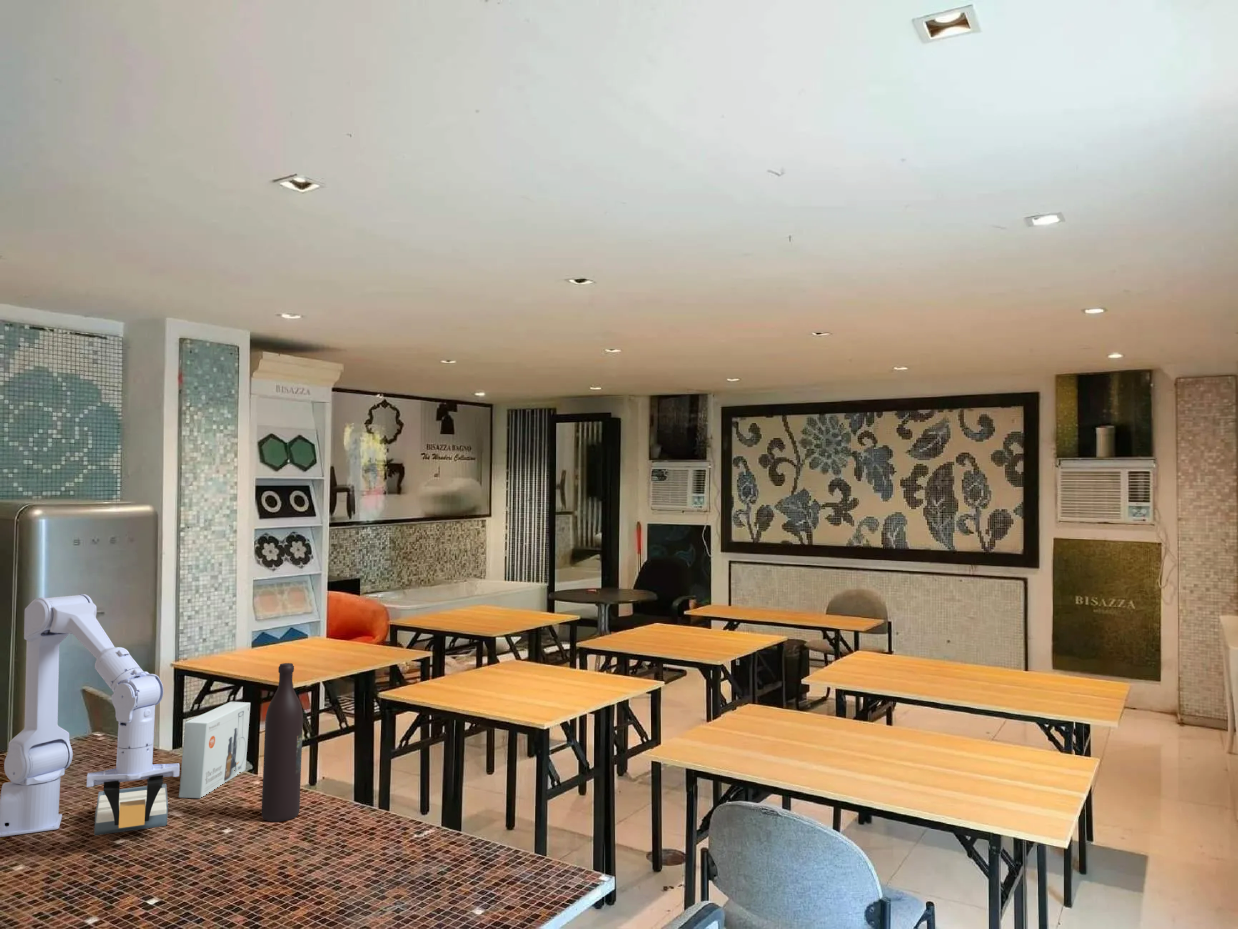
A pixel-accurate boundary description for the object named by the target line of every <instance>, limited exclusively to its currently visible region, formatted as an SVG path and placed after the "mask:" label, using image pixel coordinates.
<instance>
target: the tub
mask: <svg viewBox="0 0 1238 929" xmlns="http://www.w3.org/2000/svg"><path fill="white" fill-rule="evenodd" d="M161 788H165V792H166V807H167V813H166V814H161V815H153V816H149V821H145V823H144V825H139V826H131V827H124V828H119V825H115V824H114V821H109V822H102V823H96V818H97V811H98V805H99V798H100V796H101V795H105V793H104V790H103V791H102V790H101V791H98V795H97V801H96V806H95V807H96V808H95V813H94V829H93V830H94V834H93V835H94V837H95V836H101V835H109V834H115V833H116V834H117V833H123V832H130V831H137V830H144V829H152V828H159V827H165V826H166V825H167V826H168V812H169V811H168V810H169V801H168V800H169V799H168V790H167V788H168V787H167V783H163V784H162V786H161ZM142 790H147V785H145V786H144V785H143V786H136V787H135V786H134V787H128V788H121V789H120V792H119V793H125V792H133V791H142Z"/></svg>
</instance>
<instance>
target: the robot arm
mask: <svg viewBox="0 0 1238 929" xmlns="http://www.w3.org/2000/svg"><path fill="white" fill-rule="evenodd" d="M97 608H98V607H97V605H96V603H94V602H93V599H92V598H91V597H90V596H89V595H88V594H84V593H79V594H76V595H67V596H66V595H64V596H55V597H54V596H53V597H37V598H35V599H33V600H32V601H31V602H30V603H29V604H28V605H27V606H25V608H24V619H23V620H24V622H23V623H24V625H23V626H24V627H23V633H24V634H23V639H24V640H26V650H25V651H26V654H25V656H26V657H25V658H26V659H25V694H24V696H25V697H24V698H25V700H24V727H23V729H22V730H21V731H20V732H19V733H18V734H17V735H15V736H14V737H12V739H10V740H9V742H8V750H7V754H6V757H5V759H4V762H3V763H4V765H3V768H4V773H5V776H6V777H7V778H8V780H9V781H8V782H3V784H2V786H1V791H0V838H1V837H9V836H15V835H16V836H17V835H24V834H31V833H39V832H47V831H53V830H54V831H55V830H58V829H59V828H60V827H61V826H60V825H61V822H62V818H63V814H62V813H59V812H60V795H61V794H60V792H61V791H60V790H61V777H63V776H64V775H65V772H66V771H65V770H67V769H68V768H69V767H70V765H71V764H72V761H73V757H74V755H73V754H74V753H73V748H72V746H71V741H70V732H69V731H67V730H66V729H64V728H63V727H61V726H60V725H58V724H59V720H58V719H59V716H58V715H59V680H60V679H59V677H60V674H59V673H60V672H59V671H60V644H61V643H62V642H63V641H64V640H65V639H66V638H67V637H68V636H69V635H73V636H74V637H75V638H76V639H77V640H78V641H79V642H80V643H81V644H82V646H84V648H85V649H86V650H87V651H89V653H91V655H93V657H94V658H95V659H96V660H95V661H94V662H95V663H94V670H96V671H97V673H98V674H99V676H100V677H101V678H102V679H103V681H104V682H105V684H106V685H107V686H108V687H109V689H110V690H111V692H113V694H111V703H112V705H113V707H114V711H115V716H114V717H115V718H116V722H118V724H117V725H118V728H117V743H116V745H117V746H116V747H117V749H116V763H115V764H116V765H115V766H116V767H115V768H111V769H106V770H101V771H95V772H93V771H92V772H88V773H87V774H86V788H90V787H95V786H98V785H103V791H104V793H105V795H106V797H107V799H108V801H109V803H110V806H111V808H112V812H113V816H114V824H115V825H119V792H120V788H121V783H125V782H133V781H143V780H147V781H146V786H147V799H146V806H145V821H149V816H150V812H151V809H152V806H153V803H154V800H155V798H156V796H157V794H158V792H159V790H160V788H161V786H162V784H164V778H166V777H167V778H169V777H173V778H174V777H175V778H177V777H180V768H181V766H180V765H181V764H180V763H179V762H178V763H177V762H176V763H175V762H174V763H156V764H155V763H154V764H153V762H154V761H153V760H154V757H153V756H154V740H155V739H154V738H155V716H156V706H157V705H159V704H160V703H161V702H162V700H163V697H164V694H165V692H164V684H163V683H162V680H161V679H160V676H158V674H155V673H149V672H148V671H144V670H143V669H142V668H141V667H140V665H139V664H138V663H137V661H136V660H135V659H134V658H133V656H132V655H131V654H130V652H129V651H128V649H126V648H125V647H121V646H119V647H118V646H115V645H114V643H113V642H112V641H111V640H112V639H110V637H109V636H108V634H107V633H106V631H105V630H104V628H103V627H102V625H101V623H100V622H99V620H98V619H97V610H98V609H97Z"/></svg>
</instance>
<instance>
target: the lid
mask: <svg viewBox="0 0 1238 929" xmlns="http://www.w3.org/2000/svg"><path fill="white" fill-rule="evenodd" d="M146 799H147V790H142V791H133V792H125V793H119V828H124V827H131V826H139V825H144V823H145V806H146ZM166 813H167V807H166V792H165V788H160V790H159V792H158V794H157V796H156V798H155V800H154V803H153V806H152V809H151V812H150V816H153V815H161V814H166ZM109 821H114V816H113V812H112V808H111V806H110V803H109V801H108V799H107V797H106V795H101V796H100V798H99V805H98V811H97V818H96V823H102V822H109Z"/></svg>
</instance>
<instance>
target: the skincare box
mask: <svg viewBox="0 0 1238 929" xmlns="http://www.w3.org/2000/svg"><path fill="white" fill-rule="evenodd" d="M250 713H251V702H245V701H244V702H243V701H229V702H227V703H224V704H223V705H220V706H217V707H216V708H214V709H211V710H209V711H207V712H205V713H202V714H200V715H197V716H195V717H193V718H191V719H189V720H187V721H185V722H184V732H183V743H182V744H183V747H182V756H181V766H180V768H181V771H180V780H179V791H178V798H181V799H182V798H183V799H184V798H185V799H186V798H187V799H188V798H189V799H190V798H191V799H202V798H203V796H204V797H205V796H207V795H208V794H210V793H211V792H213V791H214V789H215V790H216V789H218V788H219V787H221V786H222V784H223V785H225V784H226V783H227V782H229V781H230V780H232V779H234V778H235V777H236V776H238V775H240V774H241V773H243V772H244V771H246V765H247V764H246V763H247V756H248V755H247V752H248V741H249V740H248V739H249V727H250V726H249V724H250V716H251V715H250ZM234 770H235V771H234ZM239 772H241V773H239ZM237 774H238V775H237ZM225 782H226V783H225ZM220 785H221V786H220ZM217 787H218V788H217ZM209 792H210V793H209ZM206 794H207V795H206ZM201 797H202V798H201Z"/></svg>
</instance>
